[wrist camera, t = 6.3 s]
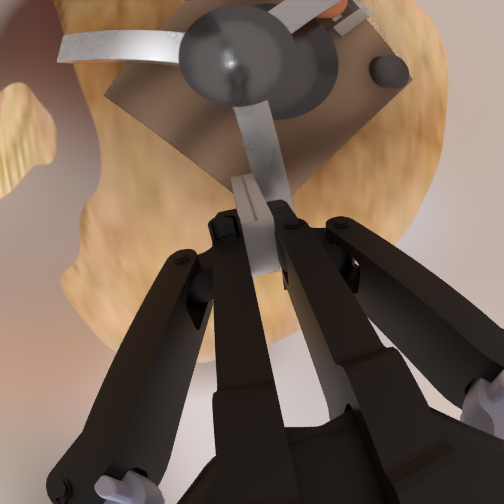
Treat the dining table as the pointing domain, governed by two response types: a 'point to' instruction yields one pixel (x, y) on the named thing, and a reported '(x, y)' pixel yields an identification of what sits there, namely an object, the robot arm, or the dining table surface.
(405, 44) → the dining table surface
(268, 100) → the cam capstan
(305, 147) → the walnut stand
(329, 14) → the ball
